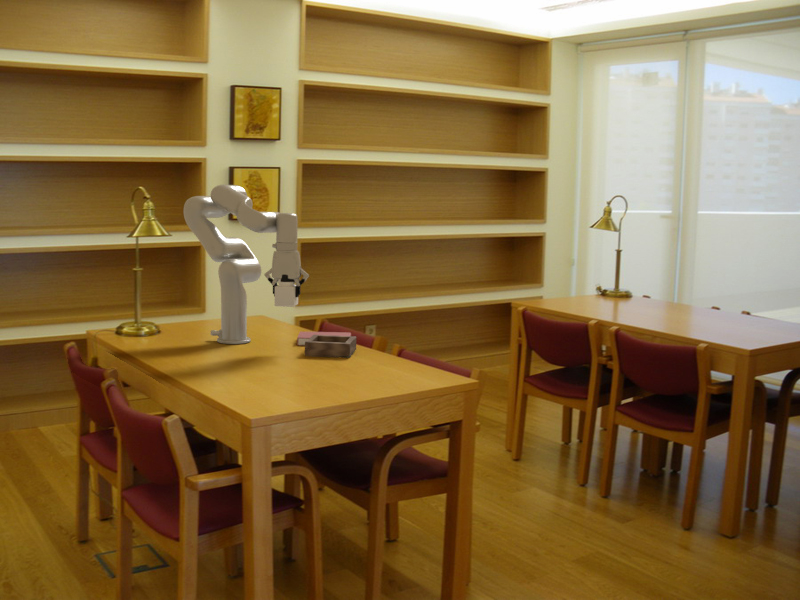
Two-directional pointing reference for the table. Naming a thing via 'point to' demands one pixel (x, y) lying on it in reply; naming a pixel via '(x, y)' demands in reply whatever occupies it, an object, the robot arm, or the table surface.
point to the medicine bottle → (285, 292)
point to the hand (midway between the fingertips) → (286, 296)
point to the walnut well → (330, 346)
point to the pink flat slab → (306, 335)
